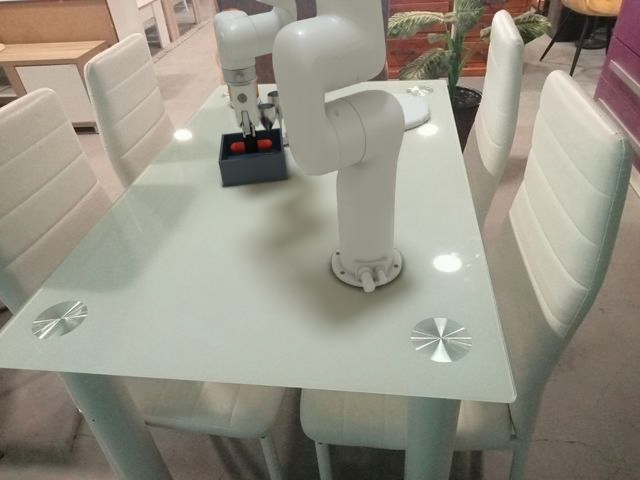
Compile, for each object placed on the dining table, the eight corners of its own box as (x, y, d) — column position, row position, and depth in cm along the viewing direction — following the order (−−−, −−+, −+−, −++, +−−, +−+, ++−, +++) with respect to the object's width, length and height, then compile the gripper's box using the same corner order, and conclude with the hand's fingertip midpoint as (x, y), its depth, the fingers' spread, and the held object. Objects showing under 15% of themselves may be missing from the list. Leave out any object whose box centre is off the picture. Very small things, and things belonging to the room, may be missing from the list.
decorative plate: (338, 120, 129) (344, 87, 148) (339, 134, 131) (345, 100, 151) (433, 118, 126) (426, 85, 145) (432, 133, 128) (425, 98, 148)
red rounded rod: (272, 146, 118) (271, 137, 116) (272, 150, 116) (271, 141, 114) (231, 150, 117) (230, 141, 116) (231, 155, 115) (229, 146, 114)
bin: (287, 179, 114) (284, 154, 110) (223, 186, 113) (218, 162, 109) (284, 150, 126) (281, 127, 122) (226, 157, 125) (221, 134, 121)
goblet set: (276, 155, 122) (269, 105, 114) (257, 152, 125) (249, 103, 117) (324, 114, 142) (321, 69, 134) (307, 112, 144) (303, 67, 136)
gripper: (257, 83, 99) (268, 162, 110) (256, 60, 112) (266, 133, 123) (220, 87, 99) (236, 166, 110) (224, 63, 111) (237, 136, 122)
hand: (252, 148), depth 116 cm, fingers closed on red rounded rod, 2 cm apart
